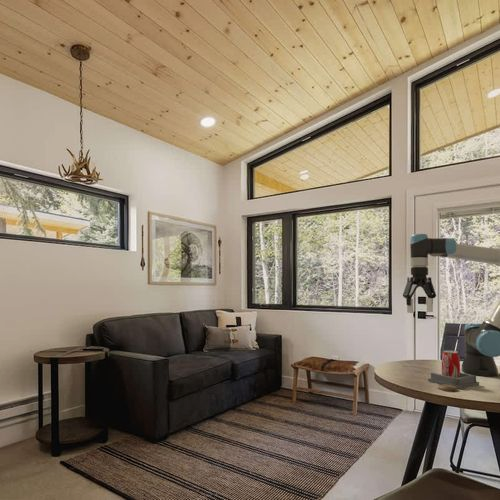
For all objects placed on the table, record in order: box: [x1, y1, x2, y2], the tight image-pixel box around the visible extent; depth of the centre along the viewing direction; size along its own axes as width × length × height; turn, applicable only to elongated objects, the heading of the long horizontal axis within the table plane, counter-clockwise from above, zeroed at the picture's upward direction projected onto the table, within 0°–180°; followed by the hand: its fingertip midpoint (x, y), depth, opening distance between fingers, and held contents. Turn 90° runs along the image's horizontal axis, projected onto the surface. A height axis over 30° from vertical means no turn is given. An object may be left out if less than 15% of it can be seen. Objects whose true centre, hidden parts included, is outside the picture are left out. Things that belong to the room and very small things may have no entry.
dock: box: [427, 371, 480, 390], centre depth 170 cm, size 14×14×4 cm
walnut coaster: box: [437, 384, 458, 393], centre depth 161 cm, size 7×7×1 cm
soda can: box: [441, 349, 461, 378], centre depth 172 cm, size 7×7×12 cm
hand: (420, 312), depth 186 cm, fingers open, 13 cm apart
